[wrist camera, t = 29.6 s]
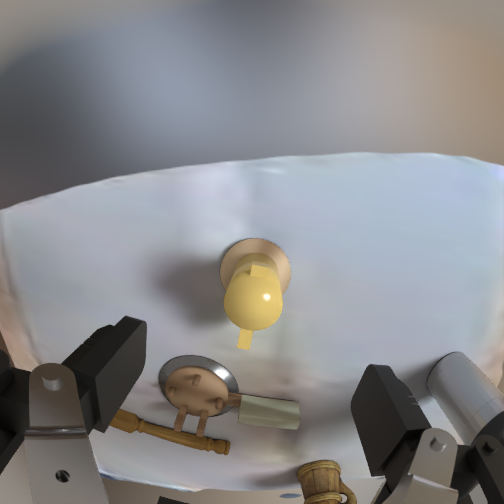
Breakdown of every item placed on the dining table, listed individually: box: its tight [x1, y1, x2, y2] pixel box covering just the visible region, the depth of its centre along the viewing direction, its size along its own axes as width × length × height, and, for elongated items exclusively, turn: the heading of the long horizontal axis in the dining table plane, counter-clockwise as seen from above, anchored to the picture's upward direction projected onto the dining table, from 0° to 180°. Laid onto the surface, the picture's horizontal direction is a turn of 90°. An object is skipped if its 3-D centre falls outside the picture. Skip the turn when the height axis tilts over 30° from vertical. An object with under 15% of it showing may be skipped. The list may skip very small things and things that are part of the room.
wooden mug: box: [297, 460, 357, 504], centre depth 38 cm, size 9×14×18 cm, turn 88°
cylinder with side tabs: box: [224, 253, 283, 350], centre depth 33 cm, size 11×6×10 cm, turn 170°
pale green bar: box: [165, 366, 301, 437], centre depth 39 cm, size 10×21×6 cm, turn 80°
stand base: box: [159, 355, 239, 417], centre depth 43 cm, size 13×13×1 cm
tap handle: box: [109, 409, 230, 455], centre depth 44 cm, size 3×3×30 cm
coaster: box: [220, 238, 291, 295], centre depth 38 cm, size 9×9×1 cm
